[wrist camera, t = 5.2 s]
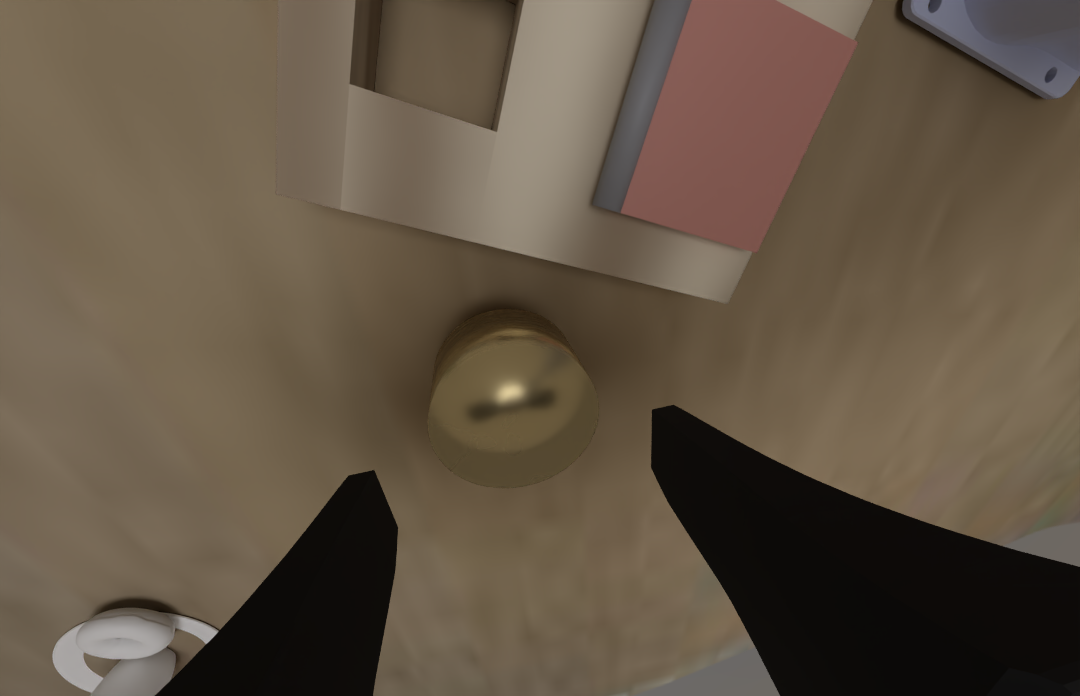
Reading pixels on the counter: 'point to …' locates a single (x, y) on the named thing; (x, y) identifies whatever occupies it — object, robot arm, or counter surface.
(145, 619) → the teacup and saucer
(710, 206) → the plate
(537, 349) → the peg
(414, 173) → the block
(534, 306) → the counter surface
